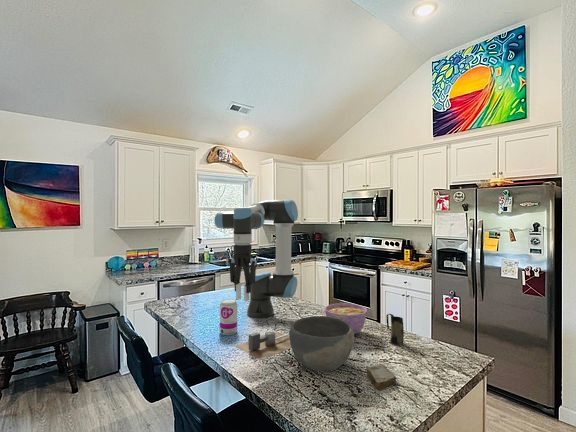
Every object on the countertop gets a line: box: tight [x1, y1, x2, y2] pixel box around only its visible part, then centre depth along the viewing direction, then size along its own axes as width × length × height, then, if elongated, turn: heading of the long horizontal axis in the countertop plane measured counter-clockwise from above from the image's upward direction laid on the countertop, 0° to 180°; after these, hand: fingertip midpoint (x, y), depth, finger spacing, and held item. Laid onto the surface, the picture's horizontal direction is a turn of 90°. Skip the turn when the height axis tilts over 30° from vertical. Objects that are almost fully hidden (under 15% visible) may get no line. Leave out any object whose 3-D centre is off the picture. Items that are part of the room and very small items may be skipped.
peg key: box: [248, 331, 289, 351], centre depth 140 cm, size 21×4×6 cm, turn 134°
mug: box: [386, 313, 405, 347], centre depth 145 cm, size 8×6×12 cm
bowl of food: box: [324, 302, 368, 335], centre depth 157 cm, size 20×20×12 cm
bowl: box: [288, 315, 355, 373], centre depth 124 cm, size 24×24×15 cm
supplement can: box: [219, 298, 238, 336], centre depth 158 cm, size 8×8×15 cm
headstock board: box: [234, 331, 292, 360], centre depth 141 cm, size 24×20×2 cm
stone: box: [366, 363, 397, 392], centre depth 113 cm, size 15×8×3 cm, turn 3°
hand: (242, 299), depth 139 cm, fingers open, 3 cm apart
